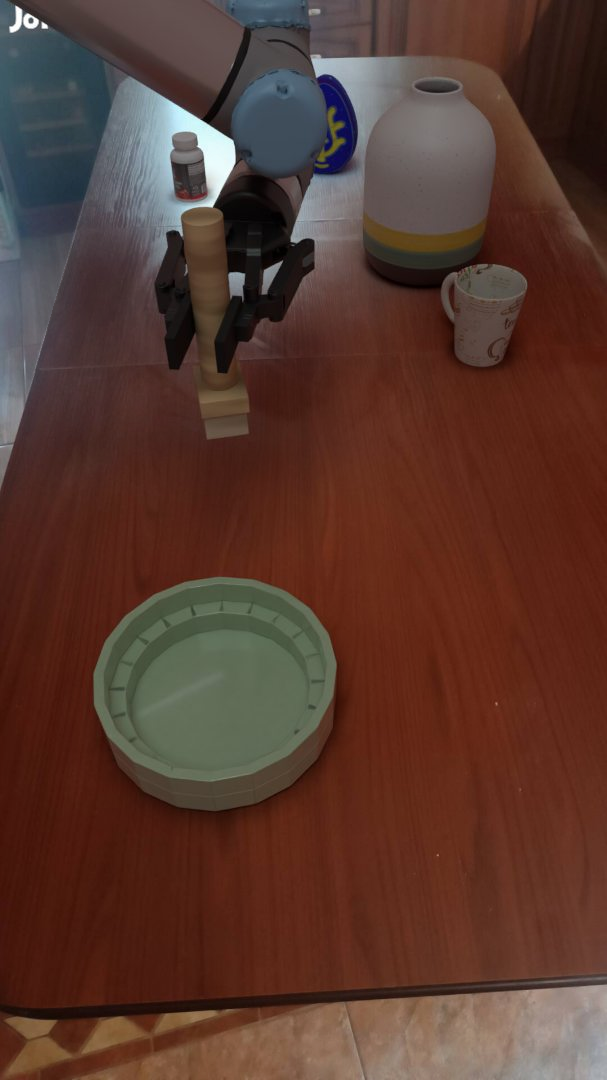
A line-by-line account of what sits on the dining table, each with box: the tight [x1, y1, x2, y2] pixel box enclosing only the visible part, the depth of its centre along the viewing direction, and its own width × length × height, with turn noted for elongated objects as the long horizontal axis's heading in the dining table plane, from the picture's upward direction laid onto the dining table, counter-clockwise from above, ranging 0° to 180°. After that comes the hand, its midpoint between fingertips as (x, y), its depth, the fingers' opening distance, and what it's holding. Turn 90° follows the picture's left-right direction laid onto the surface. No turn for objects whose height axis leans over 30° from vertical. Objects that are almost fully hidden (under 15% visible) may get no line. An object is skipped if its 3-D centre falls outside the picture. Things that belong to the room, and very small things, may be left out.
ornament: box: [314, 73, 359, 175], centre depth 135 cm, size 11×9×15 cm
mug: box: [440, 263, 528, 368], centre depth 98 cm, size 8×13×10 cm, turn 33°
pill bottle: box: [169, 131, 208, 204], centre depth 130 cm, size 5×5×10 cm
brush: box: [180, 206, 251, 440], centre depth 63 cm, size 6×4×18 cm
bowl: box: [92, 576, 338, 812], centre depth 64 cm, size 19×19×6 cm
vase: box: [362, 76, 497, 287], centre depth 107 cm, size 17×17×24 cm
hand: (196, 355), depth 59 cm, fingers closed on brush, 3 cm apart
